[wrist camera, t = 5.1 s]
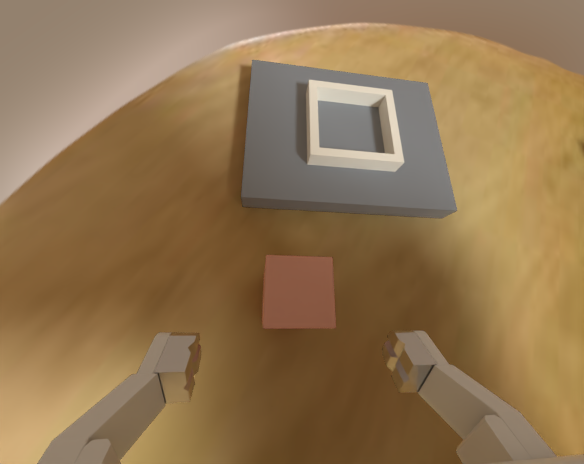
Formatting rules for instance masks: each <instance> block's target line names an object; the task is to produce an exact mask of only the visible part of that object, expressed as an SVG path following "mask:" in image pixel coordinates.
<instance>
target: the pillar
mask: <svg viewBox="0 0 584 464" xmlns="http://www.w3.org/2000/svg"><path fill="white" fill-rule="evenodd" d="M262 325H263V329H281V328H336V316H335V296H334V276H333V257H314V256H285V255H266V261H265V270H264V282H263V305H262Z"/></svg>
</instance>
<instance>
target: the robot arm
mask: <svg viewBox="0 0 584 464" xmlns="http://www.w3.org/2000/svg"><path fill="white" fill-rule="evenodd" d="M387 338H388V341H387V342H385V343H384V345H383V348H382V355H383V359H384V362H385V364H386V366H387V367H388V368H389V369H390V370H391V371H392V375H391V377H392V379H393V381H394V383H395V385H396V387H397V390H398V392H399V393H406V392H418V394H419V395H420V396H421V397H422V398H423V399H424V400H425V401H426V402H427V403H428V404H429V405H430V406H431V407H432V408H433V409H434V410H435V411H436V412H437V413H438V414H439V416H440V417H441V418H442V419H443V420H444V421H445V422H446V423H447V424H448V425H449V426H450V427H451V428H452V429H453V430H454V431H455V432H456V433H457V434H458V435H459V436H460V437H461V438H462V439H463V441H462V442H461V443H460V444H459V446H458V447H457V449H456V453H457V454H458V456H459V458H460V460H461V462H462V464H584V454H580V455H569V456H558V457H557V456H556V455H555V454H554V452H553V451H552V450H551V449H550V448H549V446H548V445H547V444H546V443H545V442H544V440H543V439H542V438H541V437H540V436H539V434H538V433H537V432H536V431H535V430H534V428H533V427H532V426H531V425H530V424H529V422H528V421H527V420H526V419H525V418H524V417H523V415H522V414H521V413H520V412H519V411H517V410H516V409H515V408H513V407H512V406H510V405H509V404H508V403H506V402H505V401H503V400H502V399H500V398H499V397H498V396H496V395H495V394H493V393H492V392H491V391H489V390H488V389H486V388H485V387H483V386H482V385H481V384H479V383H478V382H476V381H475V380H474V379H472V378H471V377H469V376H468V375H467V374H465V373H464V372H462V371H461V370H459V369H458V368H457V367H455V366H454V365H449V363H448V362H447V361H446V359H445V358H444V356H443V355H442V354H441V352H440V351H439V350H438V348H437V347H436V345H435V344H434V343H433V341H432V340H431V338H430V337H429V336H428V334H427V333H426V332H425V331H411V330H405V331H390V332H389V333H388V335H387ZM199 341H200V335H199V333H177V332H159V333H158V334H157V335H156V336H155V337H154V339H153V341H152V343H151V345H150V347H149V349H148V351H147V353H146V355H145V357H144V359H143V362H142V364H141V366H140V368H139V370H138V372H137V374H131V375H130V376H129V377H128V378H127V379H125V380H124V381H123V382H122V383H121V384H119V385H118V386H117V387H116V388H115V389H113V390H112V391H111V392H110V393H109V394H107V395H106V396H105V397H104V398H103V399H101V400H100V401H99V402H98V403H97V404H95V405H94V406H93V407H92V408H91V409H90V410H88V411H87V412H86V413H85V414H84V415H82V416H81V417H80V418H79V419H78V420H76V421H75V422H74V423H73V424H72V425H70V426H69V427H68V428H67V429H66V430H64V431H63V432H62V433H61V434H60V435H58V436H57V437H56V438H55V439H54V440H52V442H51V443H50V445H49V446H48V448H47V449H46V451H45V453H44V454H43V456H42V457H41V459H40V460H39V462H38V463H37V464H121V462H120V460H121V459H122V457H123V456H124V455H125V454H126V453H127V451H128V450H129V449H130V448H131V447H132V445H133V444H134V443H135V442H136V441H137V439H138V438H139V437H140V436H141V434H142V433H143V432H144V431H145V430H146V428H147V427H148V426H149V425H150V424H151V422H152V421H153V420H154V419H155V418H156V416H157V415H158V414H159V413H160V412H161V410H162V409H163V408H164V407H165V404H170V403H184V402H190V400H191V396H192V392H193V389H194V385H195V380H194V375H195V374H196V373H197V372H198V370H199V366H200V360H201V346H200V345H199Z"/></svg>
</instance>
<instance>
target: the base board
mask: <svg viewBox="0 0 584 464" xmlns="http://www.w3.org/2000/svg"><path fill="white" fill-rule="evenodd" d="M241 200H242V206H243V207H255V208H272V209H289V210H306V211H323V212H341V213H358V214H375V215H392V216H409V217H426V218H444V217H446V216H448V215H450V214H452V213H454V212H456V211H457V207H456V203H455V199H454V194H453V190H452V186H451V182H450V177H449V173H448V169H447V164H446V160H445V156H444V152H443V147H442V143H441V139H440V135H439V130H438V126H437V122H436V117H435V113H434V109H433V105H432V100H431V96H430V92H429V87H428V83H423V82H416V81H408V80H401V79H393V78H386V77H378V76H371V75H363V74H356V73H348V72H341V71H333V70H326V69H318V68H311V67H303V66H296V65H288V64H281V63H274V62H266V61H259V60H252V69H251V81H250V93H249V105H248V118H247V130H246V142H245V154H244V166H243V178H242V191H241Z"/></svg>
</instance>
